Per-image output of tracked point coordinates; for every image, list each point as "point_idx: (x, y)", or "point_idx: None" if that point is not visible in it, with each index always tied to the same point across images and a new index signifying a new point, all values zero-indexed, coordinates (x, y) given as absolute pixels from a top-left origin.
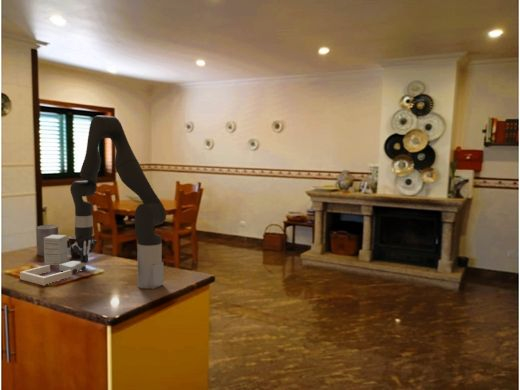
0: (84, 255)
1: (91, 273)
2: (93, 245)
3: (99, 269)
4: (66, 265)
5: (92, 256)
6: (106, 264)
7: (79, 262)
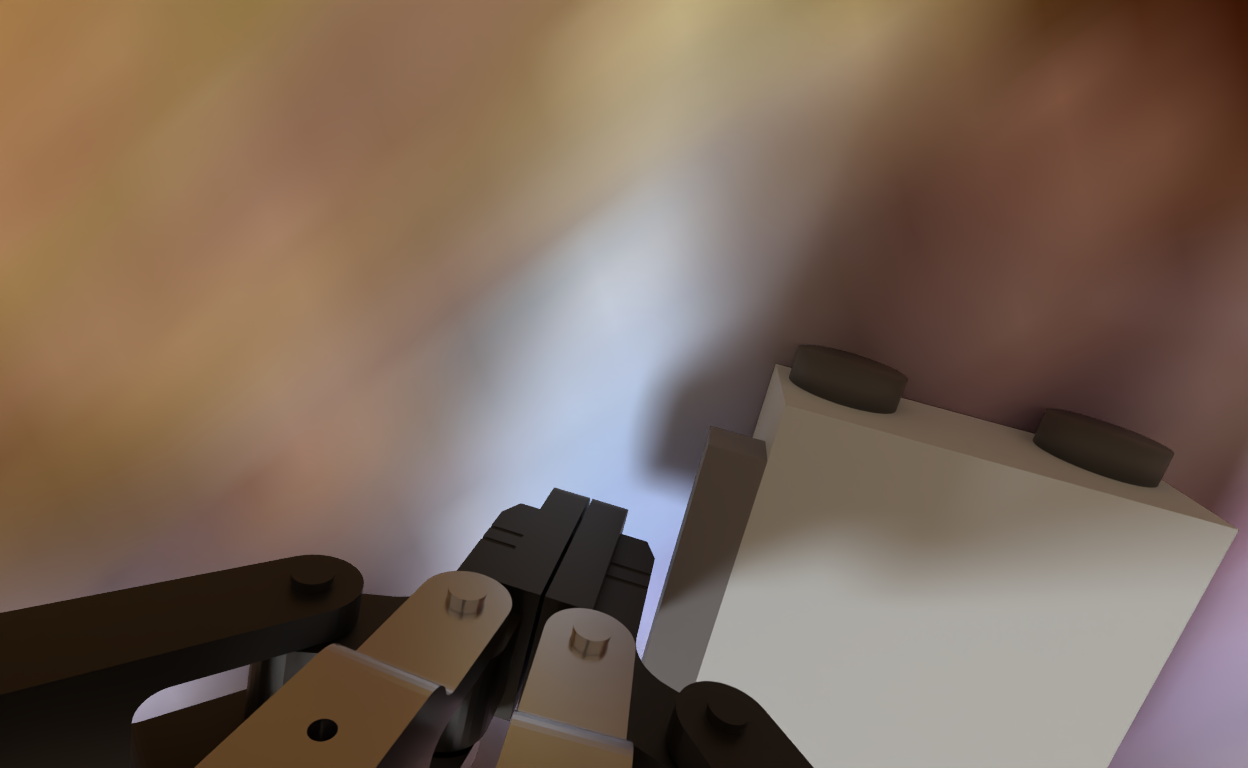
0: (602, 615)
1: (983, 77)
2: (12, 671)
3: (636, 103)
4: (1093, 730)
5: None
6: (271, 195)
7: (746, 590)
